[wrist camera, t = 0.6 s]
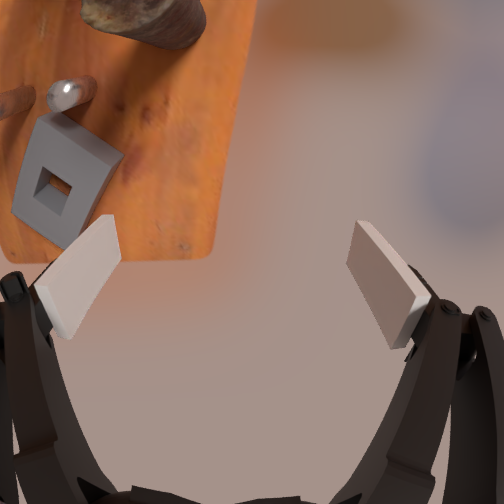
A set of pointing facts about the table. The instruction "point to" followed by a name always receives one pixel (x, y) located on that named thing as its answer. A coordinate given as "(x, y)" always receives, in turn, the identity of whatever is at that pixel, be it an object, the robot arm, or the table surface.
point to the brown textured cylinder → (148, 20)
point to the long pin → (16, 101)
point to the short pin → (71, 93)
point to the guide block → (69, 170)
